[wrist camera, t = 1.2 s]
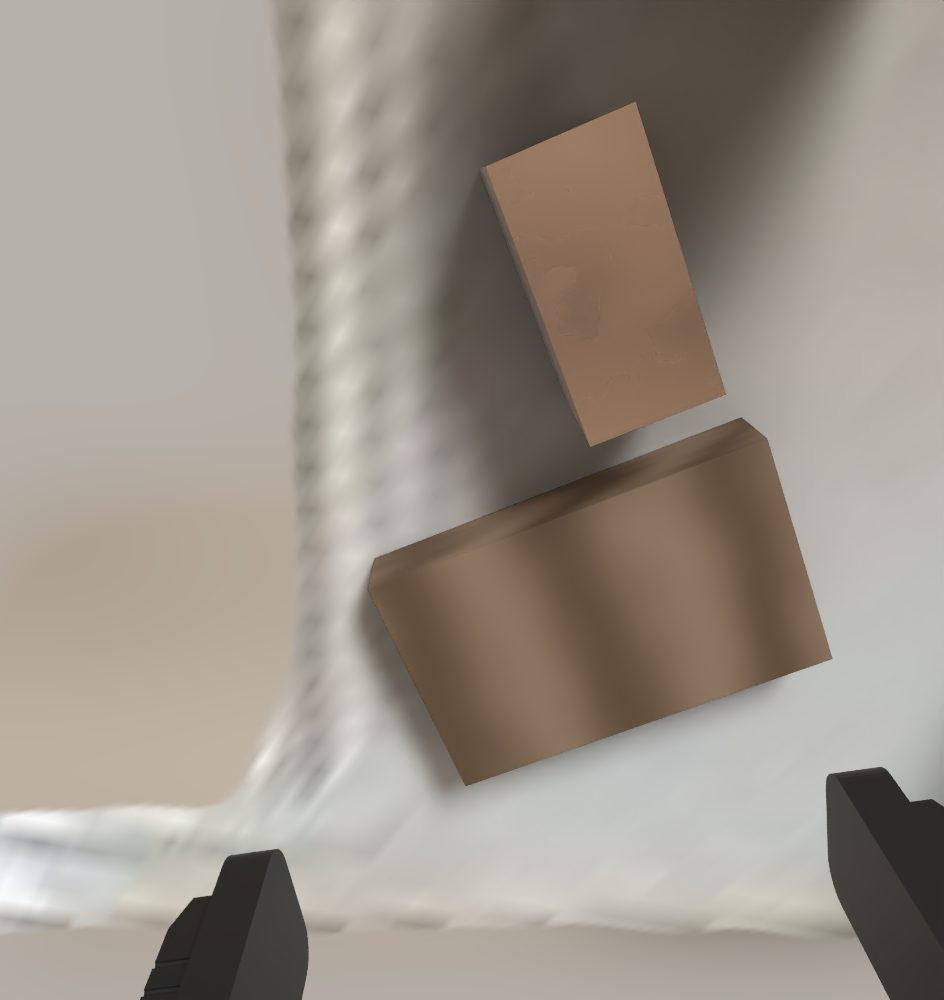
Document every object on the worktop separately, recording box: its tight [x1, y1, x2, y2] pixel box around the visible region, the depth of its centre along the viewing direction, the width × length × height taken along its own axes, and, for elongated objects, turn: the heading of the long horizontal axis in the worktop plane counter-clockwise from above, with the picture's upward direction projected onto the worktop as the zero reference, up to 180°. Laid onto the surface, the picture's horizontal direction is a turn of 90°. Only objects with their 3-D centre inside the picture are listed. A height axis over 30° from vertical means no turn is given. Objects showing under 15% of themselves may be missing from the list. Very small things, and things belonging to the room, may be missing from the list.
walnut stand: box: [368, 417, 832, 786], centre depth 36 cm, size 16×10×3 cm, turn 112°
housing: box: [479, 102, 726, 447], centre depth 29 cm, size 4×9×7 cm, turn 22°
